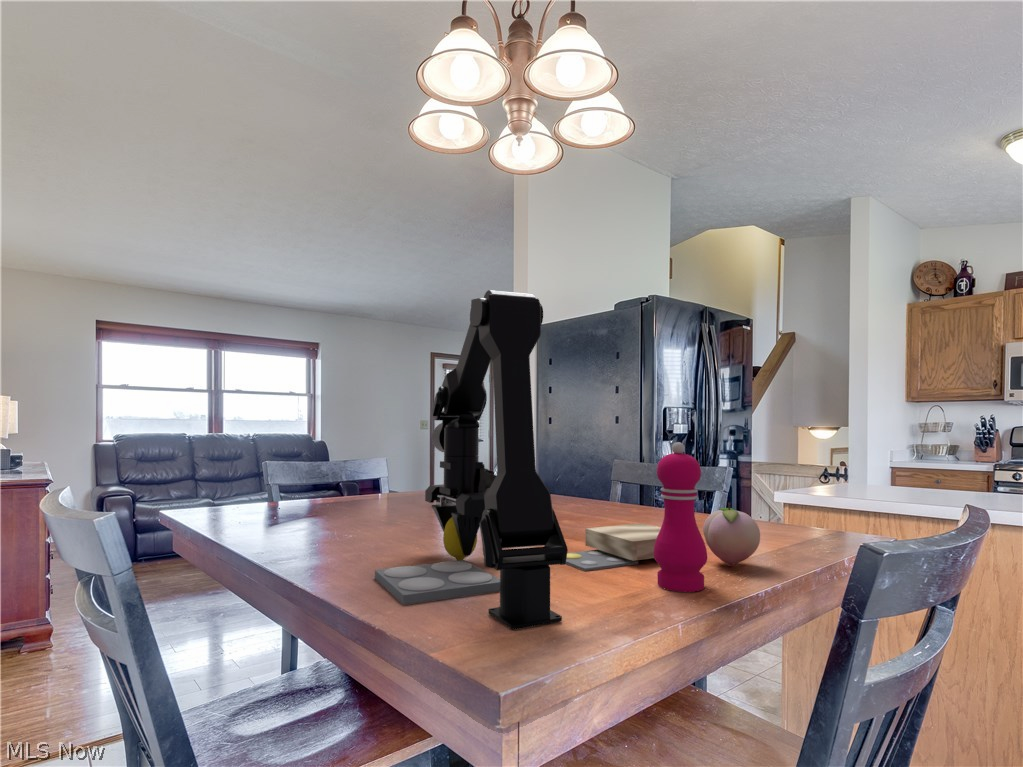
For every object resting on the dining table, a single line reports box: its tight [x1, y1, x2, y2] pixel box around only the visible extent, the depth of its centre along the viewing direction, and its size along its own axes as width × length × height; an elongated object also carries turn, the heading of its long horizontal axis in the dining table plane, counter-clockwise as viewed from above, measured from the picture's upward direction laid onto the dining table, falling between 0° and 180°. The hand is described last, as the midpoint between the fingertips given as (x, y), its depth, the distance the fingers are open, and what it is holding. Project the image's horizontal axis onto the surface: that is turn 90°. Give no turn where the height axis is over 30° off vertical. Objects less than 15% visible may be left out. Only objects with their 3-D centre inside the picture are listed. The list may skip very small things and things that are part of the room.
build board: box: [374, 559, 500, 606], centre depth 80 cm, size 14×14×1 cm
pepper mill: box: [653, 441, 708, 593], centre depth 80 cm, size 7×7×20 cm
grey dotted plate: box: [565, 549, 639, 572], centre depth 94 cm, size 10×10×1 cm
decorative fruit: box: [702, 502, 761, 567], centre depth 92 cm, size 9×8×10 cm
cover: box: [584, 522, 661, 561], centre depth 99 cm, size 13×13×3 cm
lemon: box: [442, 517, 478, 561], centre depth 93 cm, size 6×6×8 cm
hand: (460, 551), depth 93 cm, fingers closed on lemon, 5 cm apart
